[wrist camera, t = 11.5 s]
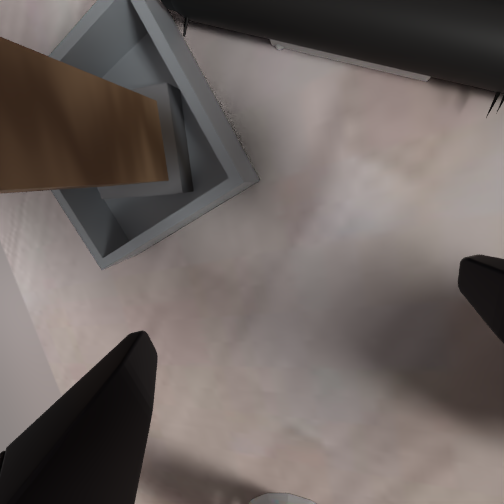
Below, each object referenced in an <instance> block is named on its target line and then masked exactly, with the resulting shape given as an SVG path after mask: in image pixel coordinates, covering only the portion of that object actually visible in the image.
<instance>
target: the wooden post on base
mask: <svg viewBox="0 0 504 504" xmlns="http://www.w3.org/2000/svg"><path fill="white" fill-rule="evenodd" d="M88 187H99V191H100V196H101V199H113V198H126V197H139V196H152V195H164V194H177V193H187V192H193V191H194V190H193V182H192V175H191V167H190V160H189V152H188V145H187V137H186V130H185V122H184V115H183V107H182V100H181V92H180V89H178V88H176V87H174V86H172V85H171V84H169V83H162V84H156V85H151V86H146V87H141V88H136V89H131V90H129V89H127V88H124V87H122V86H119V85H117V84H115V83H112V82H110V81H107V80H105V79H102V78H100V77H97V76H95V75H93V74H90V73H88V72H85V71H83V70H80V69H78V68H75V67H73V66H71V65H68V64H66V63H63V62H61V61H58V60H56V59H53V58H51V57H48V56H46V55H44V54H41V53H39V52H36V51H34V50H31V49H29V48H26V47H24V46H22V45H19V44H17V43H14V42H12V41H9V40H7V39H4V38H2V37H0V193H14V192H28V191H43V190H58V189H73V188H88Z"/></svg>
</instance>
